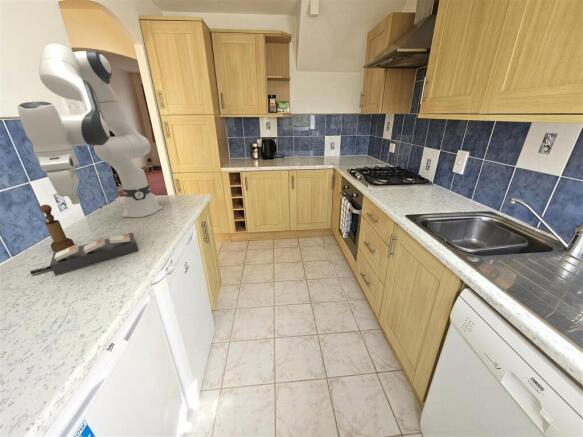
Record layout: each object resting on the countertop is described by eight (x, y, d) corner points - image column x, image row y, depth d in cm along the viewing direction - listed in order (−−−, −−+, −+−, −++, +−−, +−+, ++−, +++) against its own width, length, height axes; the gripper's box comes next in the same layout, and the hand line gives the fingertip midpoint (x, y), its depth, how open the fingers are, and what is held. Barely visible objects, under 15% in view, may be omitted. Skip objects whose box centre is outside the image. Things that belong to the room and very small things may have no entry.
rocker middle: (86, 248, 86) (83, 245, 85) (104, 240, 89) (102, 237, 88) (85, 253, 83) (83, 250, 82) (105, 244, 86) (102, 241, 85)
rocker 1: (58, 255, 82) (55, 252, 81) (78, 246, 85) (76, 243, 84) (56, 261, 79) (53, 258, 78) (78, 251, 82) (75, 248, 81)
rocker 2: (109, 239, 89) (109, 235, 89) (128, 237, 93) (128, 234, 93) (109, 243, 86) (109, 239, 86) (129, 241, 90) (129, 238, 90)
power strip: (35, 268, 83) (29, 256, 81) (135, 241, 100) (132, 230, 98) (29, 282, 76) (22, 270, 74) (138, 251, 92) (135, 240, 90)
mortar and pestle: (54, 253, 92) (33, 209, 85) (50, 248, 96) (30, 206, 89) (76, 246, 97) (58, 204, 90) (71, 241, 101) (53, 200, 93)
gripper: (50, 158, 80) (67, 197, 85) (38, 166, 64) (60, 214, 70) (74, 155, 83) (89, 194, 89) (68, 162, 68) (87, 208, 73)
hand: (76, 203), depth 79 cm, fingers closed
